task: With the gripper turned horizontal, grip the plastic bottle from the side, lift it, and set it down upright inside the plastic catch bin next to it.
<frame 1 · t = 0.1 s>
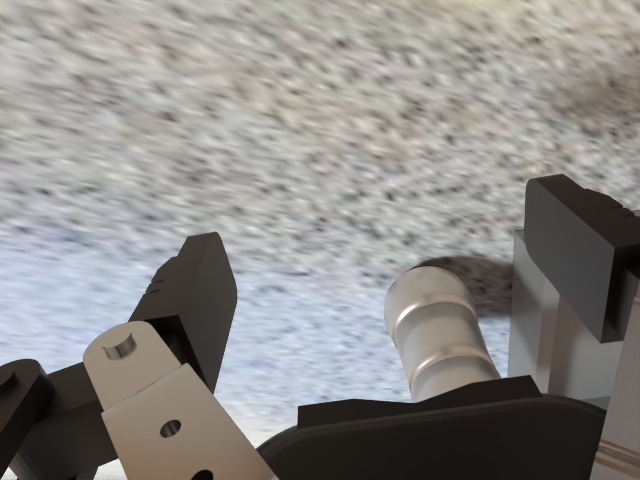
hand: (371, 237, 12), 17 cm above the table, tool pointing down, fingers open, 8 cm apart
catch bin: (609, 316, 37), on the table
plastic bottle: (420, 287, 35), on the table
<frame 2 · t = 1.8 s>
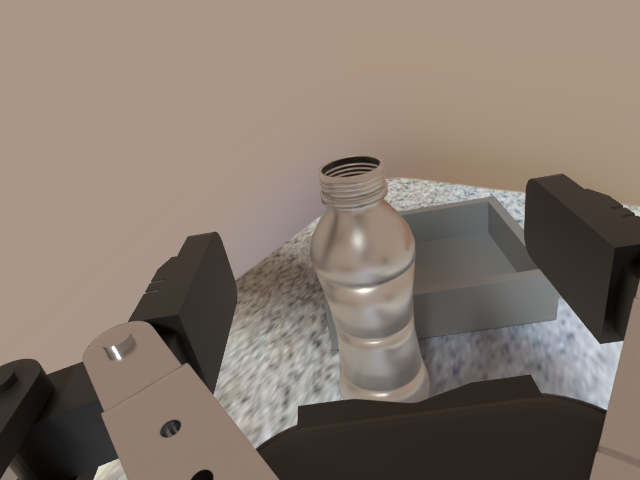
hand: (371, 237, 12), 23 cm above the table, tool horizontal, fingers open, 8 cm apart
catch bin: (424, 284, 48), on the table
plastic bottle: (387, 408, 35), on the table
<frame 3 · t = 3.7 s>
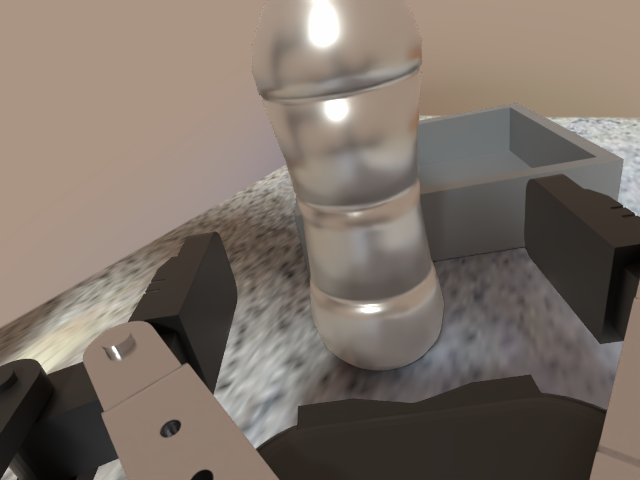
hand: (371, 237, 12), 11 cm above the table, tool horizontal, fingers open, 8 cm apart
catch bin: (430, 207, 37), on the table
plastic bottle: (382, 345, 24), on the table
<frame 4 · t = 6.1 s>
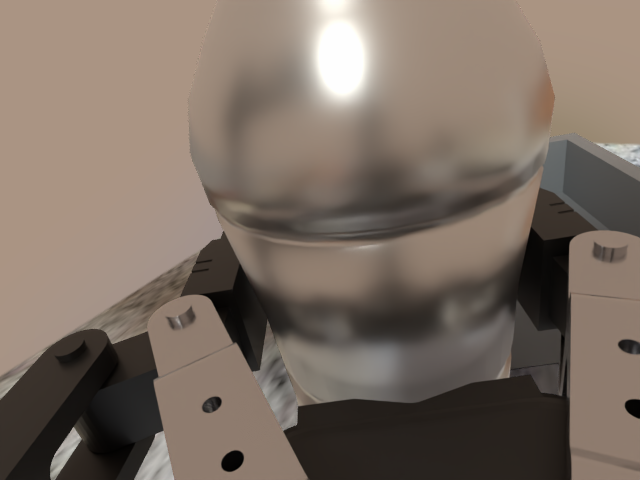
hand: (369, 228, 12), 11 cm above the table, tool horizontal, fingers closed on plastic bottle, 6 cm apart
catch bin: (467, 274, 28), on the table
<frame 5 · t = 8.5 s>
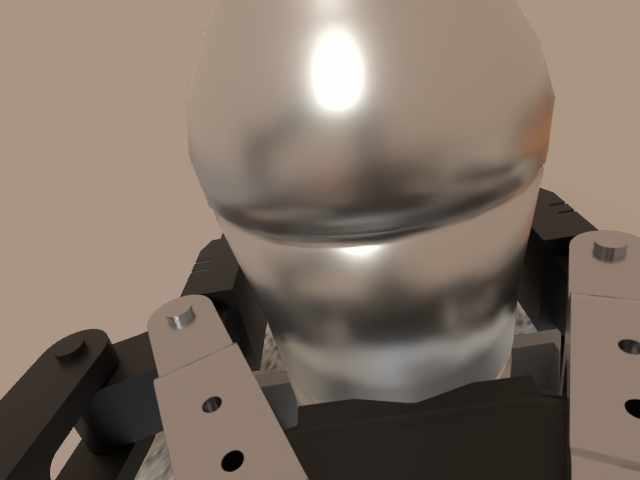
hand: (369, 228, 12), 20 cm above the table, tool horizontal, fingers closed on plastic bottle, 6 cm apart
when the fingers open (13 cm above the table, at t = 11.0 s): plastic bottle drops 1 cm, resting on catch bin.
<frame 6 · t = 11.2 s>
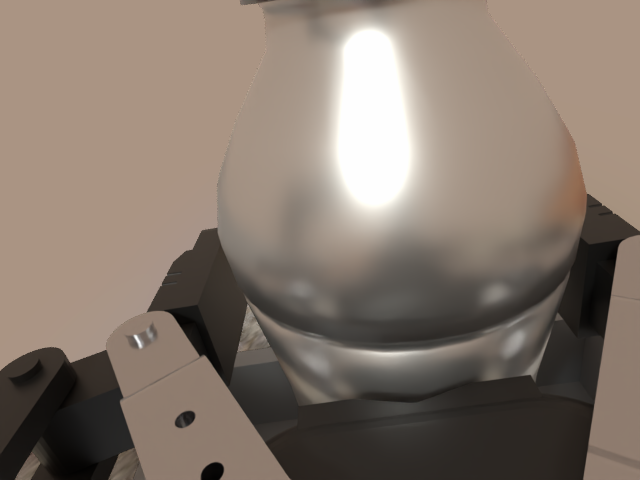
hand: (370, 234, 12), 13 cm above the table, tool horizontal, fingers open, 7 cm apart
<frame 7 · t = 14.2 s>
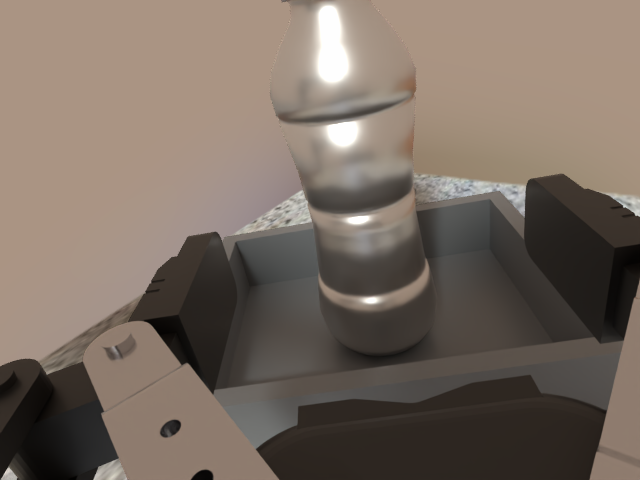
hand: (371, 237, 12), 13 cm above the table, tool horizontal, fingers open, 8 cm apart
catch bin: (380, 342, 28), on the table
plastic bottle: (382, 334, 27), point 1 cm above the table, touching catch bin
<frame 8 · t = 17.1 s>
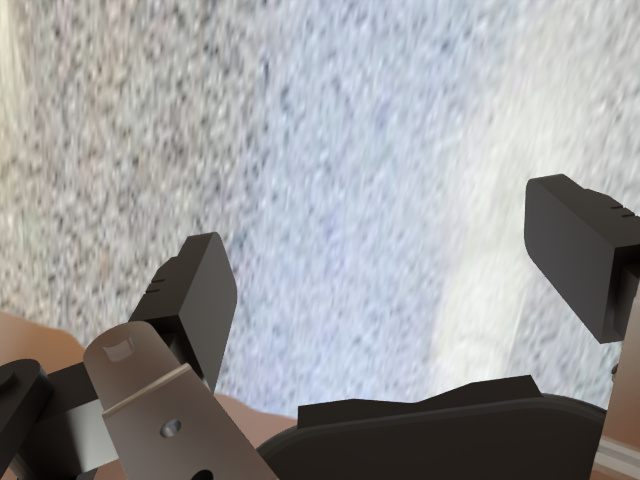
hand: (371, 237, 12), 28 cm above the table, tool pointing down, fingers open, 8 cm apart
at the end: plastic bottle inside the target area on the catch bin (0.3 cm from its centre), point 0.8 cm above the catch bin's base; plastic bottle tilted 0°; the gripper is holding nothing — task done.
